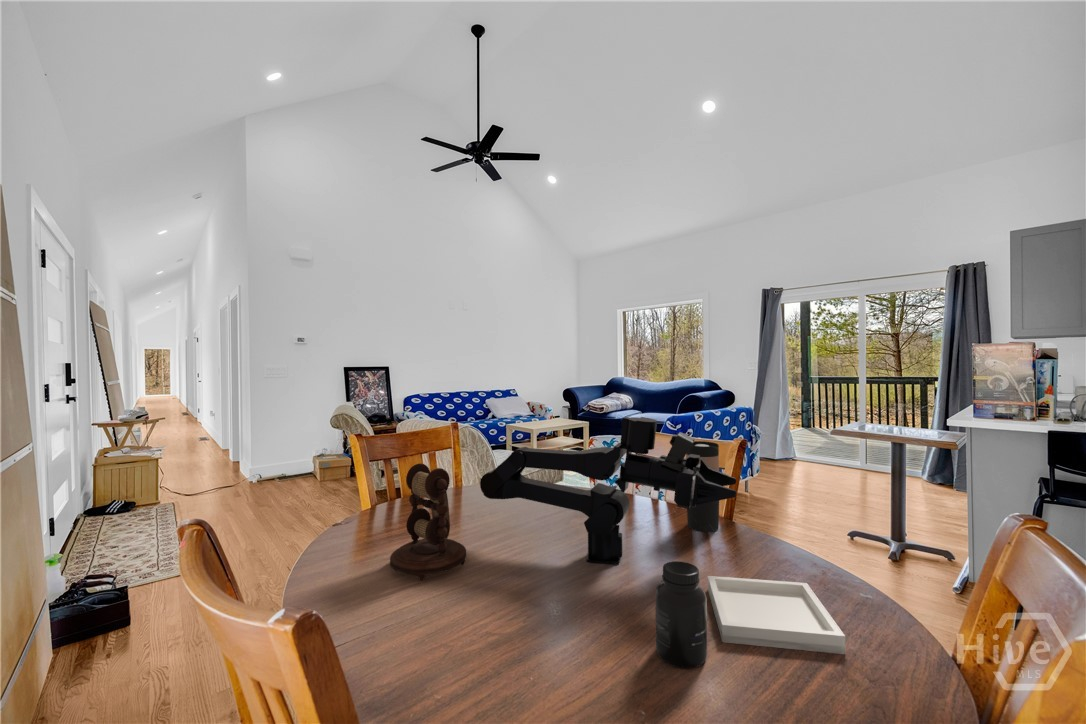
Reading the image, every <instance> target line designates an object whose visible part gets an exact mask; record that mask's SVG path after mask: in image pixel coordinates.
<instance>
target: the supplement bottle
mask: <svg viewBox="0 0 1086 724" xmlns="http://www.w3.org/2000/svg"><path fill="white" fill-rule="evenodd" d="M661 579H662V582H661V583H659V584H658V585H657V587H656V588H655V649H656V651H655V652H656V653H657V655H658V657H659V658H660V659H662V660H663V661H664V662H665V663H667V664H669V665H671V666H674V667H676V668H682V669H694V668H698V667H699V666H701V665H703V664H704V663H705V662H706V659H707V655H708V654H707V653H708V623H707V622H708V613H707V612H708V611H707V610H708V606H707V605H708V604H707V603H708V599H707V595H706V593H705V591H704V589H703V588H702V587H701V586H699V585H700V570H699V568H698V567H697V566H696V565H694V564H692V563H690V562H686V561H680V560H679V561H678V560H676V561H675V560H674V561H668V562H666V563H664V564H663V565H662V575H661Z"/></svg>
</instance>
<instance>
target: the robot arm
mask: <svg viewBox="0 0 1086 724" xmlns="http://www.w3.org/2000/svg"><path fill="white" fill-rule="evenodd" d="M657 423H658V420H657V419H655V418H649V417H644V416H641V417H634V416H633V417H628V416H627V417H626V416H623V417H622V418H621V423H620V424H621V435H620V442H619V443H617V444H616V445H614V446H613V447H609V446H603V447H594V448H588V449H583V450H565V449H564V450H563V449H561V450H560V449H548V448H532V447H527V446H522V447H519V448H517V449H515V450H513V451H511V454H510V455H508V457H507V458H506V459H505V460H503V461H502V462H501V463H499V465H497V467H496V468H495V469H493V470H490V471H488V472H486V473H485V474H483V475H482V477H481V478H480V480H479V481H480V482H479V487H480V491H481V492H482V494H483V496H484V497H485V498H487V499H490V500H508V499H509V500H510V499H524V500H527V501H532V502H536V503H540V504H545V505H549V506H550V505H551V506H554V507H559V508H563V509H567V510H572V511H577V512H580V513H582V514H584V515H585V516H587V518H586V519H585V520H584V522H583V523H584V527H585V531H586V533H587V557H586V562H588V563H599V564H600V563H601V564H613V565H614V564H615V565H619V564H620V561H621V560H620V559H621V558H622V557H623V551H624V550H623V545H624V544H623V533H622V532H620V525H619V524H620V523H621V521H622V520H623V519H624V517H625V516H626V514H627V513H628V511H629V510H630V506H631V501H630V499H629V496H628V495H627V494H626V493H625V492H626V491H627V489H628V488H629V484H630V483H631V484H634V485H635V484H636V485H641V486H644V487H651V488H653V491H656V492H660V490H666V491H671V492H674V495H673V496H674V498H673V501H674V503H675V504H676V505H677V507H678V508H681V509H686V510H687V509H690V505H691V502H690V499H693V505H692V507H695V506H698V505H702V504H706V503H710V502H715V501H719V502H720V501H723V500H728V499H729V500H730V499H733V498H736V496H737V491H736V490H735V489H733V488H730V487H728V486H733V485H734V486H735V485H736V484H737V478H736V477H734V476H731V475H729V474H726V473H723V472H721V471H720V470H719V471H717V470H714V469H712V468H710V467H709V466H708V465H707V464H706V462H705V461H704V459H703V458H702V457H701V462H700V464H699V460H700V455H694V454H690V455H689V456H687V457H686V453H687V451H688V450H689V449H690V448H691V446H692V444H693V442H694V441H696V439H695V438H693V437H691V436H689V435H688V434H687V433H684V432H681V431H679V432H678V434H673V435H672V437H671V439H670V440H669V445H671V447H670V449H669V452H668V453H667V455H660V456H659V457H652V456H648V455H647V454H649V450H651V451H652V450H654V449H655V443H656V433H657V425H658V424H657ZM646 455H647V456H646ZM624 456H625V459H624V460H625V462H622V460H621V459H623V457H624ZM526 468H527V469H528V468H529V469H538V470H539V469H540V470H542V469H543V470H553V471H565V472H574V473H578V474H579V475H581V476H583V477H585V478H590V479H593V480H597V481H607V480H609V479H610V478H611V477H612V476H613V475H615V473H616V472H618V471H619V477H618V478H616V479H615V480H614V483H615V484H616V485H614V486H613V485H612V486H611V485H606V484H604V483H601V482H597V483H596V484H595V485H594V486H593V487H592V488H591V489H590V490H589V489H583V488H577V487H571V486H568V485H562V484H558V483H553V482H548V481H543V480H538V479H534V478H529V477H526V476H525V475H524V474H522V472H524V470H525V469H526ZM726 486H727V487H726Z"/></svg>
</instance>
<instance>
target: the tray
mask: <svg viewBox="0 0 1086 724" xmlns="http://www.w3.org/2000/svg"><path fill="white" fill-rule="evenodd" d="M707 592H708V595H709V596H708V597H709V599H710V603H711V606H712V607H711V608H712V609H713V614H714V617H715V619H716V624H717V628H718V631H719V635H720V638H721V642H722V643H724V644H725V643H728V644H737V645H749V646H758V647H768V648H777V649H786V650H787V649H788V650H799V651H805V652H806V651H807V652H809V651H810V652H817V653H819V652H820V653H828V654H837V655H838V654H839V655H846V634H844V632H843V631H842V630H841V628H840V627H839V625H838V624H837V623H836V621H835V620H834V618H833V617H832V615H831V614H830V613H829V611H828V610H827V608H826V607H825V606H824V605H823V603H822V602H821V600H820V599H819V598H818V596H817V595H816V594H815V592H814V591H813V590H812V587H810V585H809V584H808V583H807V582H796V581H787V580H785V581H784V580H771V579H756V578H743V577H742V578H740V577H728V576H714V575H707Z"/></svg>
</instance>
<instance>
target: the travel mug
mask: <svg viewBox="0 0 1086 724" xmlns="http://www.w3.org/2000/svg"><path fill="white" fill-rule="evenodd" d="M719 447H720V446H719V444H718V443H716V442H712V441H705V440H703V441H701V440H698V441H697V440H694V442H693V444H692V446H691V448H690V449H689V450H688V451H687V453H686V455H685V458H686V457H687V456H689V455H690V454H694V455H700V460H699V464H700V462H701V457H702V458H703V459H704V461H705V462H706V464H707V465H708V466H709V467H710V468H712V469H714V470H717V471H719V472H720V452H719V451H720V450H719ZM690 502H691V505H690V509H686V517H687V519H686V520H687V526H688V528H689V529H691V530H693V531H697V532H703V533H709V532H710V533H711V532H713V533H714V532H717V531H718V530H719V529H720V528H719V526H720V525H719V524H720V501H715V502H710V503H706V504H702V505H698V506H695V507H692V505H693V499H690Z"/></svg>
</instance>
